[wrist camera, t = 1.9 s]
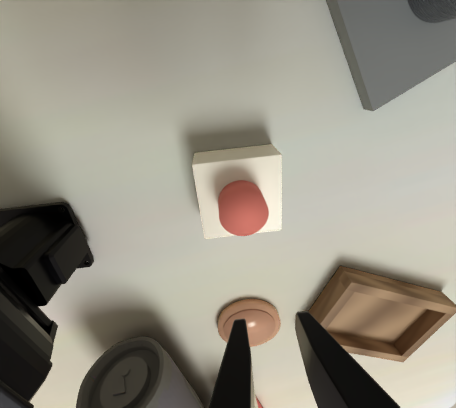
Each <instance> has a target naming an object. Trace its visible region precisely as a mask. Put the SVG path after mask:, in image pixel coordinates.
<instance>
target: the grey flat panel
mask: <svg viewBox="0 0 456 408" xmlns="http://www.w3.org/2000/svg"><path fill="white" fill-rule="evenodd" d="M326 1H327V4H328V7H329V10H330V13H331V15H332V18H333V21H334V24H335V27H336V30H337V33H338V36H339V39H340V42H341V44H342V47H343V50H344V53H345V56H346V59H347V62H348V65H349V68H350V71H351V73H352V76H353V79H354V82H355V85H356V88H357V91H358V94H359V97H360V100H361V102H362V105H363V108H364V109H365V110H370V111H374V110H376V109H378V108H379V107H381V106H383V105H384V104H386V103H388V102H389V101H391V100H393V99H394V98H396V97H398V96H399V95H401V94H403V93H404V92H406V91H408V90H409V89H411V88H412V87H414V86H416V85H417V84H419V83H421V82H422V81H424V80H426V79H427V78H429V77H431V76H432V75H434V74H436V73H437V72H439V71H441V70H442V69H444V68H446V67H447V66H449V65H451V64H452V63H454V62H456V19H452V20H448V21H444V22H439V23H428V22H424V21H422V20H420V19H419V18H417V17H416V16H415V15H414V13H413V12H412V10H411V9H410V7H409V4H408V0H326Z"/></svg>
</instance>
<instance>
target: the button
mask: <svg viewBox="0 0 456 408" xmlns="http://www.w3.org/2000/svg"><path fill="white" fill-rule="evenodd" d="M218 208H219V220H220V223H221V225H222V226H223V228H224V229H225V230H226V231H228V232H229V233H231V234H234V235H238V236H247V235H251V234H254V233H256V232H258V231H259V230H260V229H261V228H262V227H263V226H264V225H265V224H266V222H267V219H268V216H269V210H268V206H267V204H266V201H265V199H264V197H263V195H262V192H261V190H260V189H259V188H258V186H256V185H255V184H254V183H252V182H249V181H245V180H238V181H234V182H231V183H229V184H228V185H226V186H225V187H224V188H223V189H222V191H221V192H220V195H219V198H218Z"/></svg>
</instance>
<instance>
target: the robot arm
mask: <svg viewBox="0 0 456 408" xmlns="http://www.w3.org/2000/svg"><path fill="white" fill-rule="evenodd" d="M61 207H63V208H64V209H65V210H63V209H61ZM87 261H88V262H87ZM93 262H94V259H93V257H92V255H91V252H90V248H89V246H88V244H87V242H86V239H85V237H84V235H83V233H82V230H81V228H80V226H79V225H78V223H77V221H76V219H75V216H74V214H73V212H72V210H71V207H70V206H69V205H68V204H67V203H65V202H59V203H50V204H41V205H32V206H24V207H15V208H6V209H0V408H33V407H34V405H32V404H31V403H30V401H31V399H32V398H33V396H34V395H35V394H36V392H37V391H38V389H39V388H40V387H41V385H42V384H43V382H44V381H45V379H46V377H47V375H48V373H49V371H50V370H51V367H52V362H51V361H50V359H51V355H52V350H53V342H54V339H55V335H56V331H57V327H58V325H57V324H56V323H55V322H54V321H51V320H50V319H49V318H48V317H47V316H46V315H45V314H44V313H43V312H42V311H41V309H40V308H39V307H38V306H45V305H47V303H48V302H49V301H50V299H51V298H52V297H53V295H54V294H55V292H56V291H57V290H58V288H59V287H60V286H61V284H65V283H66V282H67V281H68V279H69V278H70V277H71V275H72V274H73V272H74V271H75V270H76V268H84V267H90V266H91V265H92V264H93ZM295 330H296V335H297V339H298V343H299V347H300V351H301V355H302V358H303V362H304V366H305V370H306V374H307V377H308V381H309V384H310V387H311V390H312V392H313V395H314V398H315V401H316V403H317V406H318V408H400V406H399V405H398V404H397V403H396V402H395V401H394V400H393V399H392V398H391V397H390V396H389V395H388V394H387V393H386V392H385V391H384V390H383V389H382V388H381V386H380V385H379V384H378V383H377V382H376V381H375V380H374V379H373V378H372V377H371V376H370V375H369V374H368V373H367V372H366V371H365V370H364V369H363V368H362V367H361V366H360V365H359V364H358V363H357V362H356V361H355V360H354V358H353V357H352V356H351V355H350V354H349V353H348V352H347V351H346V350H345V349H344V348H343V347H342V346H341V345H340V344H339V343H338V342H337V341H336V340H335V339H334V338H333V337H332V336H331V335H330V334H329V333H328V331H327V330H326V329H325V328H324V327H323V326H322V325H321V324H320V323H319V322H318V321H317V320H316V319H315V318H314V317H313V316H312V315H311V314H310V313H309V312H308V311H302V312H297V313H296V321H295ZM209 408H254V385H253V373H252V362H251V351H250V344H249V338H248V331H247V325H246V320H245V319H244V318H243V319H235V320H234V322H233V325H232V329H231V332H230V335H229V339H228V342H227V346H226V349H225V353H224V356H223V360H222V363H221V367H220V370H219V373H218V377H217V380H216V384H215V387H214V391H213V394H212V398H211V401H210V405H209Z"/></svg>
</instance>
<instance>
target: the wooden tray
mask: <svg viewBox="0 0 456 408" xmlns="http://www.w3.org/2000/svg"><path fill="white" fill-rule="evenodd" d="M308 312H309V313H310V314H311V315H312V316H313V317H314V318H315V319H316V320H317V321H318V322H319V323H320V324H321V325H322V326H323V327H324V328H325V329H326V330H327V331H328V333H329V334H330V335H331V336H332V337H333V338H334V339H335V340H336V341H337V342H338V343H339V344H340V345H341V346H342V347H343V348H344V349H345V350H346V351H347V352H348V353H354V354H359V355H365V356H371V357H376V358H382V359H388V360H394V361H399V362H404V361H405V360H406V359H407V358H408V357H409V356H410V355H411V354H412V353H413V352H414V351H416V350H417V349H418V348H419V347H420V346H421V345H422V344H423V343H424V342H425V341H426V340H427V339H428V338H429V337H430V336H432V335H433V334H434V333H435V332H436V331H437V330H438V329H439V328H440V327H441V326H442V325H443V324H444V323H445V322H446V321H448V320H449V319H450V318H451V317H452V316H453V315H454V314H455V313H456V305H455V304H454V303H453V302H452V301H451V300H450V299H449V298H448V297H447V296H446V295H445V294H443V293H442V292H440V291H436V290H432V289H428V288H425V287H421V286H417V285H413V284H409V283H405V282H401V281H398V280H394V279H390V278H386V277H382V276H378V275H374V274H370V273H367V272H363V271H359V270H355V269H351V268H347V267H343V266H340V267H339V268H338V270H337V271H336V272H335V274H334V275H333V277H332V278H331V280H330V281H329V283H328V284H327V285H326V287H325V288H324V290H323V291H322V293H321V294H320V295H319V297H318V298H317V300H316V301H315V303H314V304H313V306H312V307H311V308H310V310H309V311H308Z"/></svg>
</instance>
